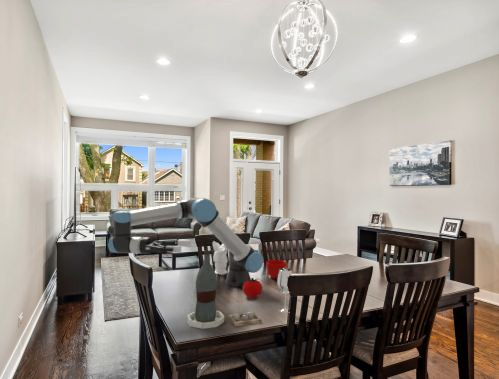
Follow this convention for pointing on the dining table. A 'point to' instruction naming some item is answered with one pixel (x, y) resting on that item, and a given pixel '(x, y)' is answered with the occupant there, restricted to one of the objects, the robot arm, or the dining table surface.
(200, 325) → the bowl
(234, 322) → the parts tray
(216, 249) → the cherub figurine
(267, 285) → the dining table surface
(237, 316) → the pebble
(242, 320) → the pebble
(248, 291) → the tomato
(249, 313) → the pebble
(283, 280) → the wineglass
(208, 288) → the vodka
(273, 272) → the ceramic cup
